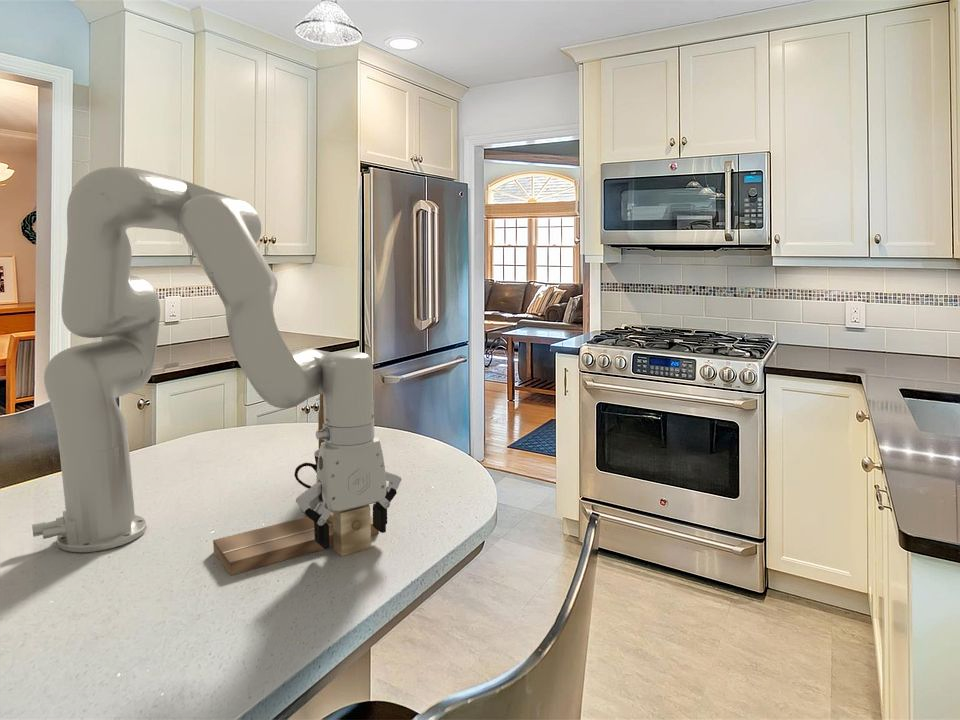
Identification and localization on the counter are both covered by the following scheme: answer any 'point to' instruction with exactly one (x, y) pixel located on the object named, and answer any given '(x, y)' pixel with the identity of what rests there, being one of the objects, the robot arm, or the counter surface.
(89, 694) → the counter surface
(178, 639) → the counter surface
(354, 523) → the board
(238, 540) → the board
